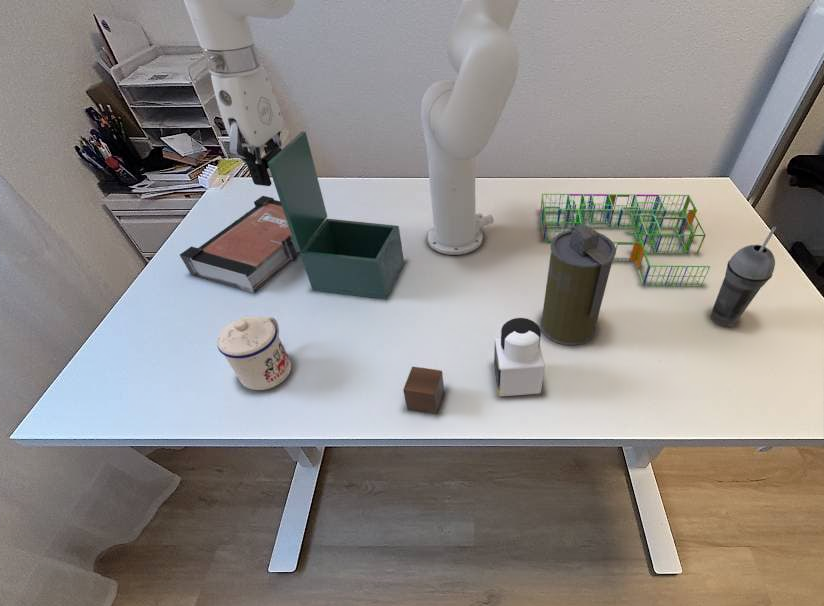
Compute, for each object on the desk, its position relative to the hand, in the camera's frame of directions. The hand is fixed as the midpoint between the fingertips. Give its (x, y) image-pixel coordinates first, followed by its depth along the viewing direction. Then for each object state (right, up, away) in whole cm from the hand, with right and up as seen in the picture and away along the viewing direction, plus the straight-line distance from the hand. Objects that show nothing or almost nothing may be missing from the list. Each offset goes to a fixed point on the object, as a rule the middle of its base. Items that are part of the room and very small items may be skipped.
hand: (271, 176), depth 83 cm
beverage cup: (+85, -26, +5) cm, 89 cm away
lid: (+5, -2, +1) cm, 6 cm away
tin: (+13, -15, +14) cm, 24 cm away
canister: (+55, -27, +3) cm, 61 cm away
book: (-11, -8, +20) cm, 24 cm away
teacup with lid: (+1, -35, -3) cm, 35 cm away
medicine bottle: (+44, -37, -5) cm, 58 cm away
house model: (+70, -6, +21) cm, 74 cm away
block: (+29, -40, -8) cm, 50 cm away
